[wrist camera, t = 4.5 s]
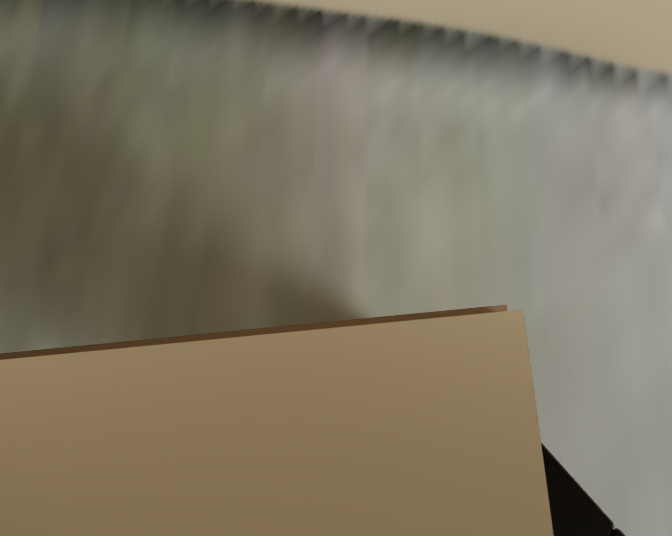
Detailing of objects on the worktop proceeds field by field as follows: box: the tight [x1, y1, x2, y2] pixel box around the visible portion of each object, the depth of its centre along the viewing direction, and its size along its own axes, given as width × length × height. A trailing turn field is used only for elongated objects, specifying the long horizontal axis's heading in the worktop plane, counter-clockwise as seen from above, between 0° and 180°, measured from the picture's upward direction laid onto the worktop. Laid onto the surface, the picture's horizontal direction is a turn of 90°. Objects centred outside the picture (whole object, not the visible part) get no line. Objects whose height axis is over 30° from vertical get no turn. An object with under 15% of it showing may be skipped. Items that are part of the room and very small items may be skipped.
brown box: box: [0, 305, 554, 536], centre depth 9 cm, size 4×4×12 cm
